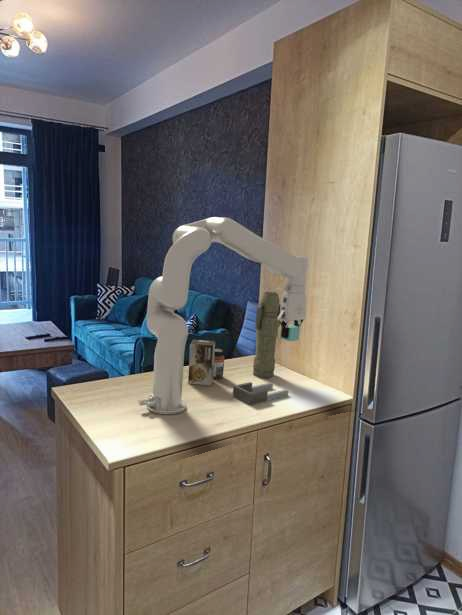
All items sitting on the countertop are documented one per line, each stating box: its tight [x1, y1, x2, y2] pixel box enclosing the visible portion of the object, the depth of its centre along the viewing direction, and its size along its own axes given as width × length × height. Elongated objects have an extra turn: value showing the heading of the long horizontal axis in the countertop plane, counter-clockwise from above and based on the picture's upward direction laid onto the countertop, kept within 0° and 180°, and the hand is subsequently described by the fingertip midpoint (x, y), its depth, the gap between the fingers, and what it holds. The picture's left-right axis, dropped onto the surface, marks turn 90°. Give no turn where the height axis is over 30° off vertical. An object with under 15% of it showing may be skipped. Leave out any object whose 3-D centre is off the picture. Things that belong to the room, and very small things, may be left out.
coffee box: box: [187, 339, 216, 387], centre depth 174 cm, size 9×6×16 cm
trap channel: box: [232, 381, 289, 406], centre depth 166 cm, size 19×9×4 cm, turn 130°
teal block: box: [279, 323, 301, 342], centre depth 170 cm, size 5×5×5 cm
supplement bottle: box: [213, 348, 225, 380], centre depth 181 cm, size 6×6×11 cm
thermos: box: [252, 291, 281, 379], centre depth 187 cm, size 9×12×35 cm
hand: (289, 336), depth 170 cm, fingers closed on teal block, 5 cm apart
